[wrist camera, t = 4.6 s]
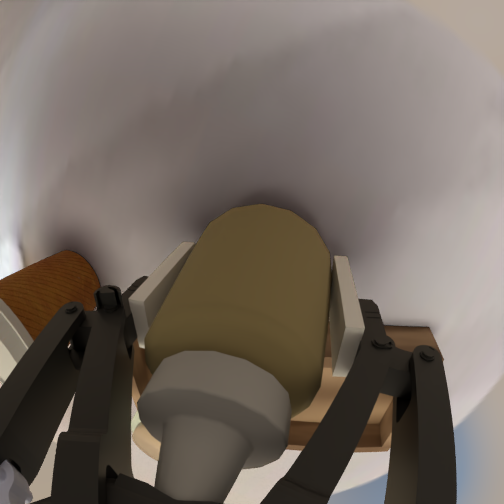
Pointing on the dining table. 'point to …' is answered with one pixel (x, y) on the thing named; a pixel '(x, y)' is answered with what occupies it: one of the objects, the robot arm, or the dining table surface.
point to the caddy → (325, 393)
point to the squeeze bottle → (236, 350)
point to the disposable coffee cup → (40, 301)
